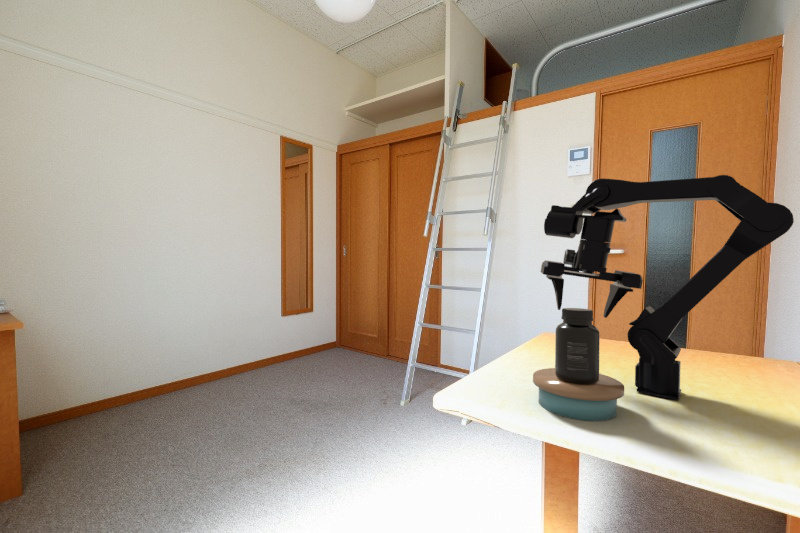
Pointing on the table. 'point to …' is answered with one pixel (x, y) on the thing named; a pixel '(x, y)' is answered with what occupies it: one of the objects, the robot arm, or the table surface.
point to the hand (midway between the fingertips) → (581, 313)
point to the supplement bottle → (577, 347)
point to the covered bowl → (578, 396)
